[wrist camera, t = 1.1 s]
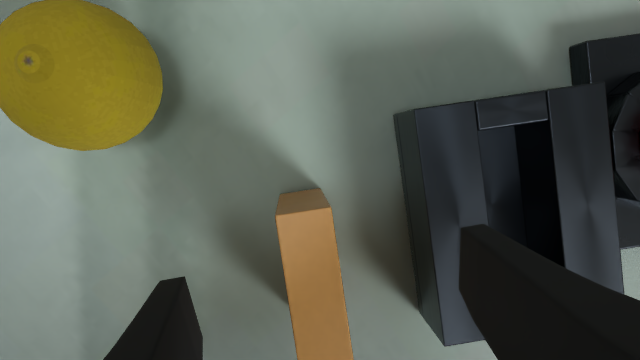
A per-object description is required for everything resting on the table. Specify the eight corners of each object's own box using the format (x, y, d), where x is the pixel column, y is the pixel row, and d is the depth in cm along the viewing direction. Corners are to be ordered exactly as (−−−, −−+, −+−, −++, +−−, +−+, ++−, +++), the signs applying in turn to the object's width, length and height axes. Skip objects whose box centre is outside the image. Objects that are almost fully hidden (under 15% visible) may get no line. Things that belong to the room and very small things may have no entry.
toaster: (572, 287, 25) (627, 315, 21) (419, 312, 24) (444, 347, 20) (552, 90, 24) (605, 81, 20) (393, 114, 23) (413, 109, 19)
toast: (337, 306, 24) (355, 368, 17) (297, 313, 24) (300, 378, 17) (320, 187, 23) (331, 206, 17) (279, 194, 23) (275, 215, 17)
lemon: (205, 105, 23) (158, 88, 15) (107, 171, 23) (7, 188, 15) (135, 4, 22) (47, -71, 14) (35, 70, 22) (-109, 33, 14)
